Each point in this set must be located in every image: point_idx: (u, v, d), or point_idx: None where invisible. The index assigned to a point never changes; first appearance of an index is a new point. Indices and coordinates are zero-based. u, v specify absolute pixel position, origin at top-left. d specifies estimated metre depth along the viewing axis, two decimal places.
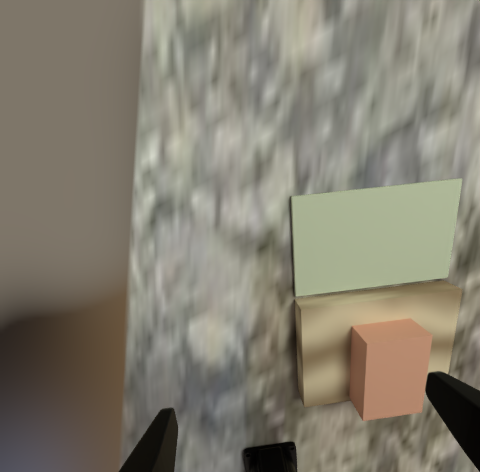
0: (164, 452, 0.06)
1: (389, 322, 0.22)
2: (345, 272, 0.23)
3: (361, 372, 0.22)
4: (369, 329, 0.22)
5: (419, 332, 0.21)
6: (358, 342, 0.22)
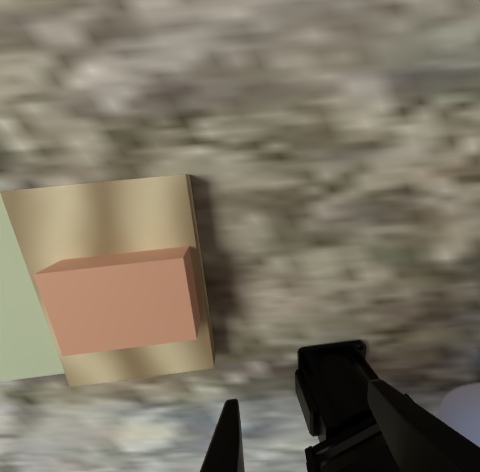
0: (240, 441, 0.07)
1: None
2: (34, 325, 0.19)
3: None
4: None
5: None
6: None
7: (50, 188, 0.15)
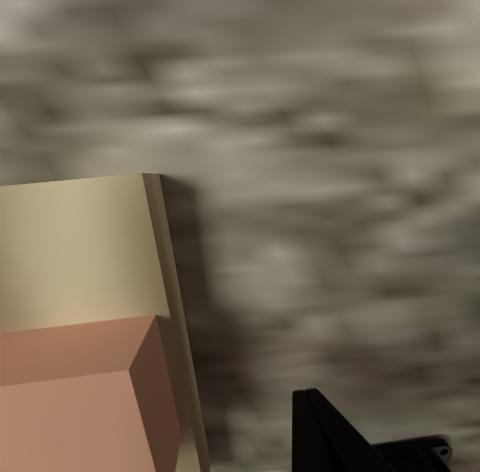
0: None
1: None
2: None
3: None
4: None
5: None
6: None
7: None
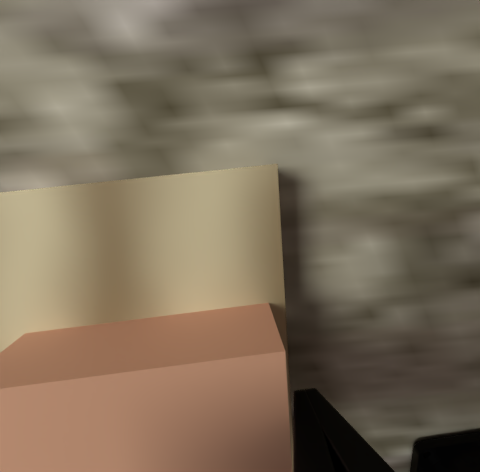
0: None
1: None
2: None
3: None
4: None
5: None
6: None
7: None
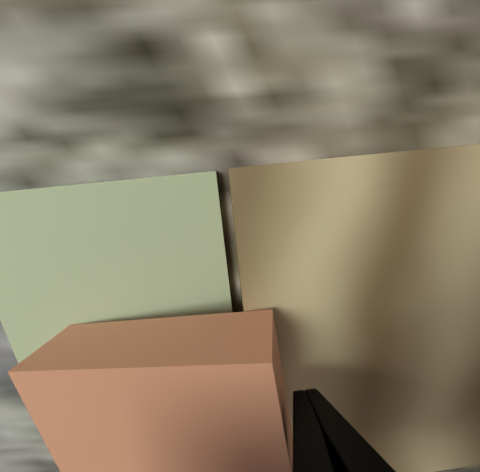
0: None
1: None
2: None
3: None
4: None
5: None
6: None
7: (324, 161, 0.08)
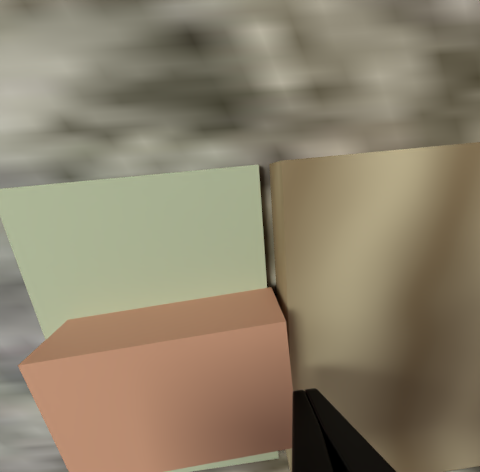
0: None
1: None
2: None
3: None
4: None
5: None
6: None
7: (375, 154, 0.08)
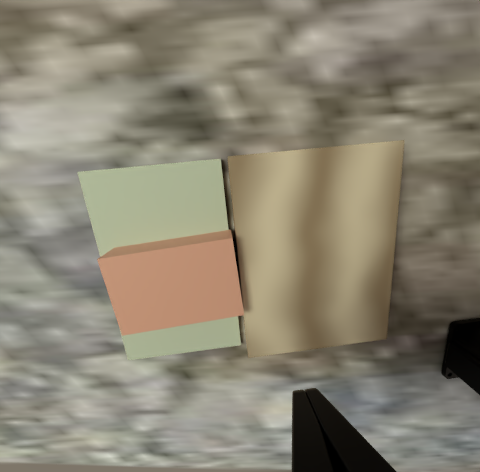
0: None
1: None
2: None
3: None
4: None
5: None
6: None
7: (275, 153, 0.15)
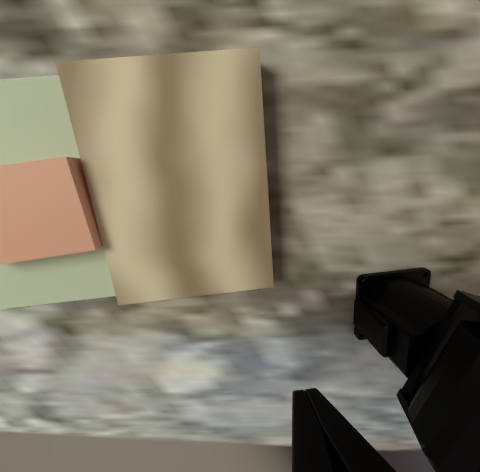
0: None
1: None
2: None
3: None
4: None
5: None
6: None
7: (111, 60, 0.13)
